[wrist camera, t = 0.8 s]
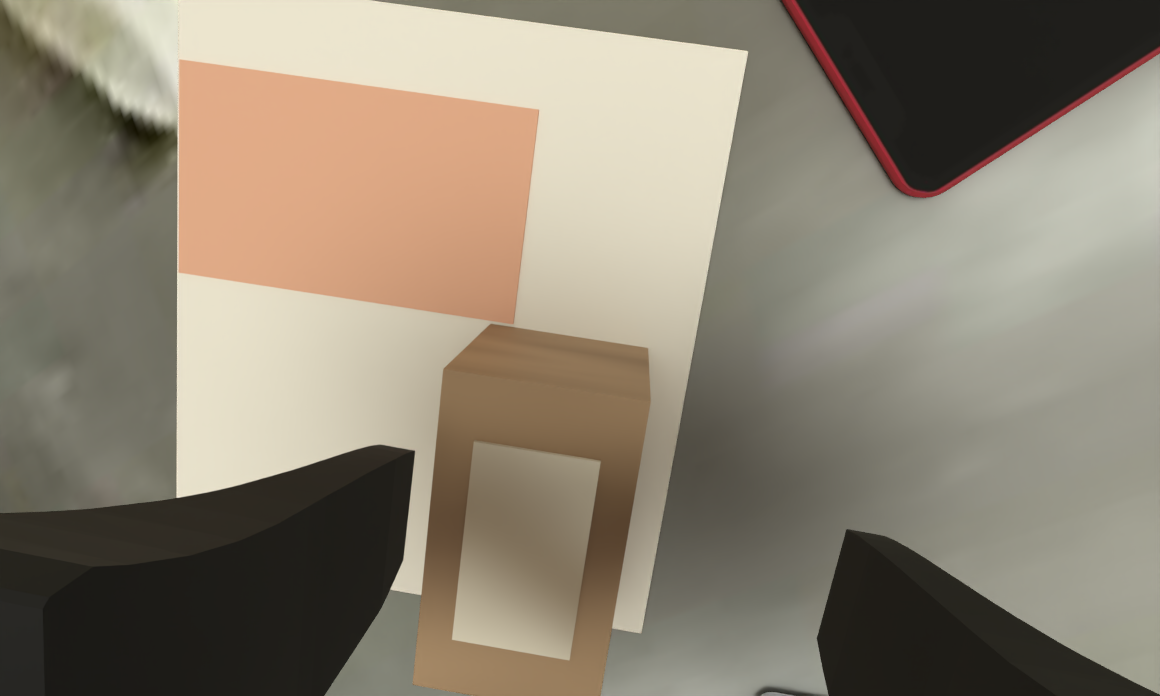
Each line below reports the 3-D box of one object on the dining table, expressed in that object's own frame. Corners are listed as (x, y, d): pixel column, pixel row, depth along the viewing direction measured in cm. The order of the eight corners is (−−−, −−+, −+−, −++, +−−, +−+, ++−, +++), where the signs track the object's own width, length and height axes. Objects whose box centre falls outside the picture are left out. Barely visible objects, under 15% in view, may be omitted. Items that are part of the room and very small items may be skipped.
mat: (640, 621, 23) (641, 635, 22) (188, 543, 23) (174, 553, 23) (744, 55, 18) (748, 50, 18) (192, -19, 19) (175, -27, 18)
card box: (606, 598, 22) (596, 721, 17) (462, 573, 22) (411, 687, 17) (648, 348, 20) (650, 403, 15) (490, 323, 20) (441, 370, 15)
